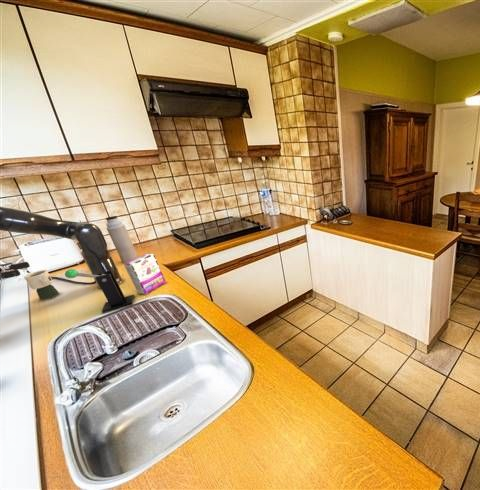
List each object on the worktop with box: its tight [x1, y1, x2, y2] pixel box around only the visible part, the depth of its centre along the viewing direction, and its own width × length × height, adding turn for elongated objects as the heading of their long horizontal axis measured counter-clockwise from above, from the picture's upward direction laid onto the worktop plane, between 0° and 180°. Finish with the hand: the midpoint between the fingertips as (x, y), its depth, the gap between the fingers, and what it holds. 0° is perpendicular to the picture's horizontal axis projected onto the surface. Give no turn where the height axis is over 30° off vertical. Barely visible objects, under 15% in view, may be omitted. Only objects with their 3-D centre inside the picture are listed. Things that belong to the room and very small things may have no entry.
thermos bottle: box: [105, 215, 139, 264], centre depth 158 cm, size 8×8×28 cm
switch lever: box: [64, 268, 106, 279], centre depth 110 cm, size 13×4×4 cm, turn 125°
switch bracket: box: [96, 270, 135, 314], centre depth 115 cm, size 10×8×16 cm
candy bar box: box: [123, 253, 167, 295], centre depth 127 cm, size 11×5×16 cm, turn 168°
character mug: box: [23, 269, 60, 301], centre depth 125 cm, size 11×7×13 cm, turn 63°
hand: (24, 268), depth 99 cm, fingers open, 8 cm apart
